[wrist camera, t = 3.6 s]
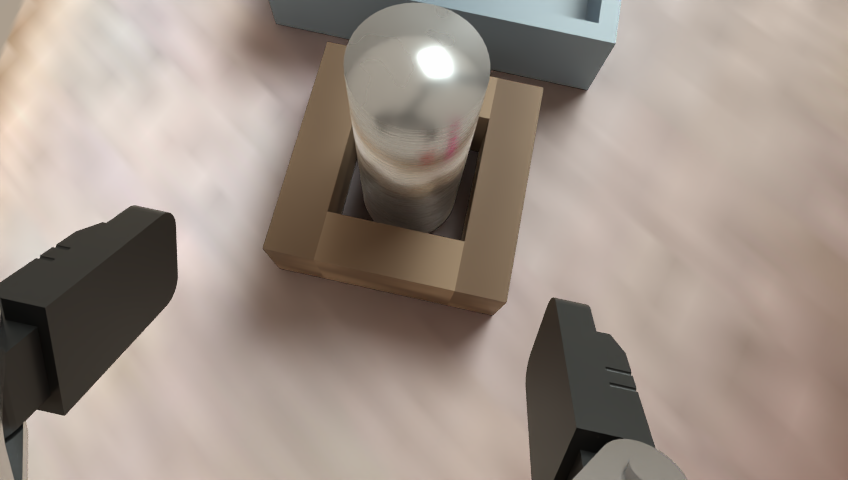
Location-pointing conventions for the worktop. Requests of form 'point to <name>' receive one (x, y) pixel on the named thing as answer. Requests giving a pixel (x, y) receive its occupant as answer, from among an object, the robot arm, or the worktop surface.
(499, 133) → the socket block
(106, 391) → the worktop surface
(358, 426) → the worktop surface
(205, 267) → the worktop surface
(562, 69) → the parts tray
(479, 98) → the pin
